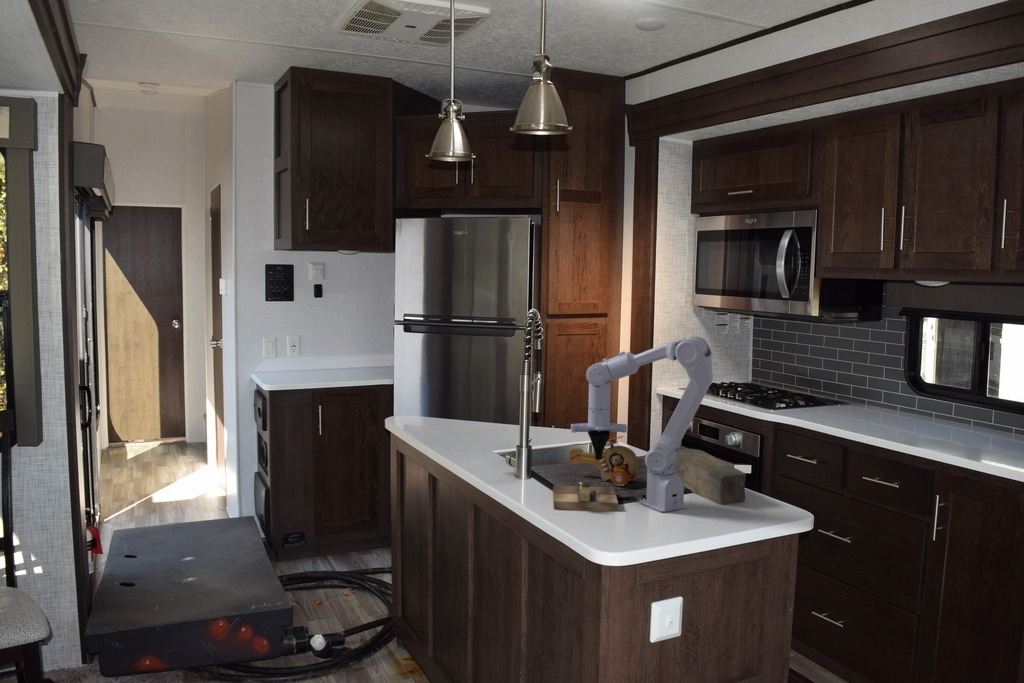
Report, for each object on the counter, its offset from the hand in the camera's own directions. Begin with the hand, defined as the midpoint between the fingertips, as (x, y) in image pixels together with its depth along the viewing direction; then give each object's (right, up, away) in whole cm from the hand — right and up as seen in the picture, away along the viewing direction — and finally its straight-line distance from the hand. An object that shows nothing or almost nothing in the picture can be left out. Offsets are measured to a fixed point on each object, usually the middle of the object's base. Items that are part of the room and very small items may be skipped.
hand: (598, 458), depth 218 cm
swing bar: (-4, -8, -8) cm, 12 cm away
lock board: (-4, -10, -4) cm, 12 cm away
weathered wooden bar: (+30, -10, +7) cm, 32 cm away
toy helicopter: (+4, -9, +16) cm, 18 cm away
